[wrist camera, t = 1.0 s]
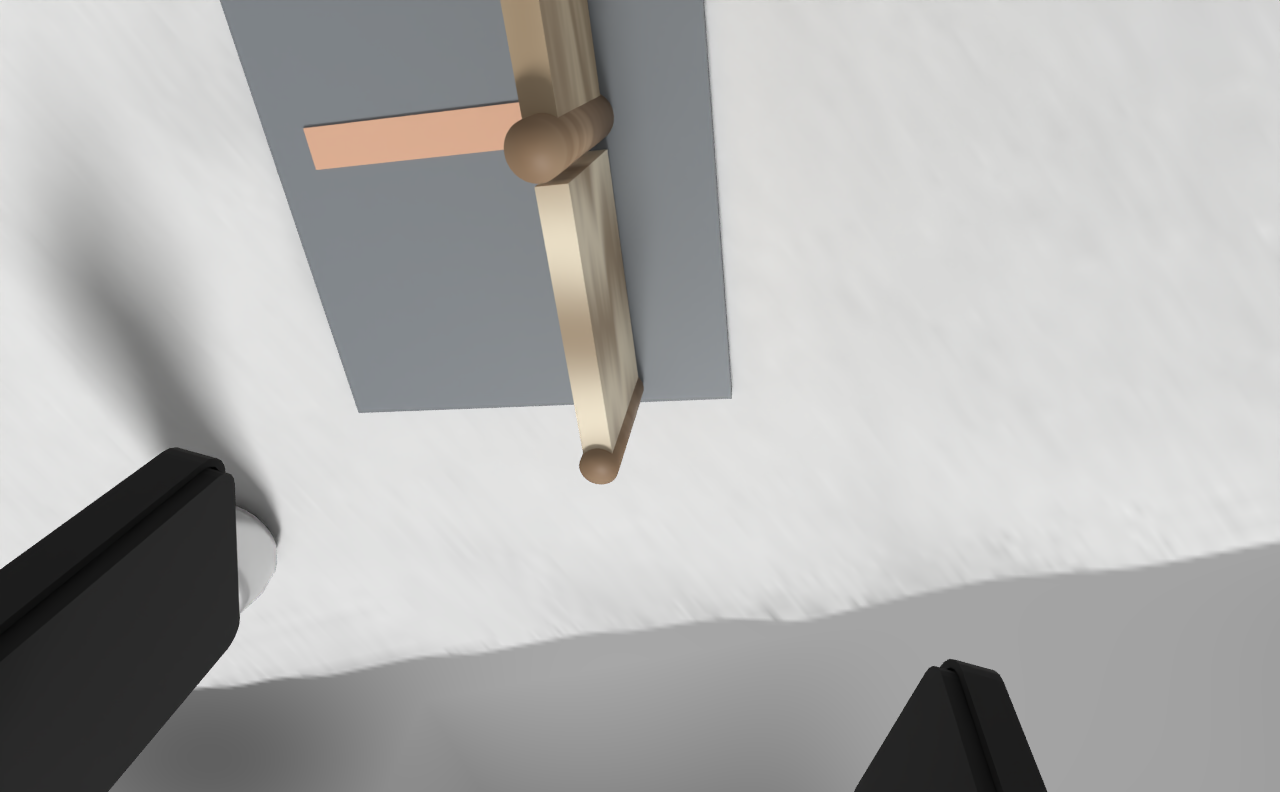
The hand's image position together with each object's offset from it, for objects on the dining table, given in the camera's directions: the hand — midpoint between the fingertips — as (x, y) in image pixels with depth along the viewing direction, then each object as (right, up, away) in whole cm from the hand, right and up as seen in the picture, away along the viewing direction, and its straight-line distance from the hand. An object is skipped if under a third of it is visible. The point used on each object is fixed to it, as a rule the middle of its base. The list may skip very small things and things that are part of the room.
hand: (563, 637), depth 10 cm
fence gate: (0, +8, +24) cm, 25 cm away
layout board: (-6, +15, +22) cm, 27 cm away
